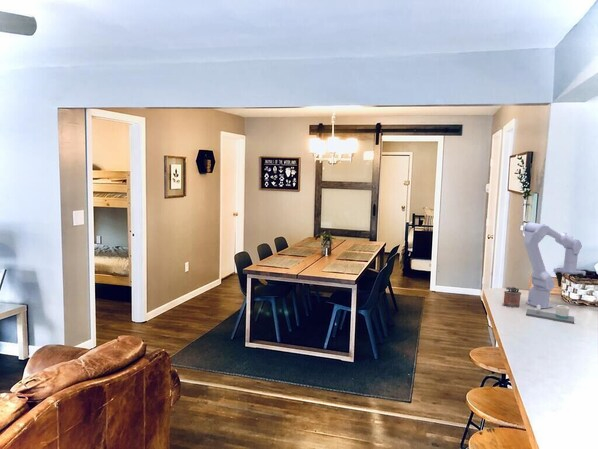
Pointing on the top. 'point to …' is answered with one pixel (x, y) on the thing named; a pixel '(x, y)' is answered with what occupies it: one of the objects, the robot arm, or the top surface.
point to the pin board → (547, 315)
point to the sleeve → (562, 312)
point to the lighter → (512, 297)
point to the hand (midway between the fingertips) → (567, 287)
